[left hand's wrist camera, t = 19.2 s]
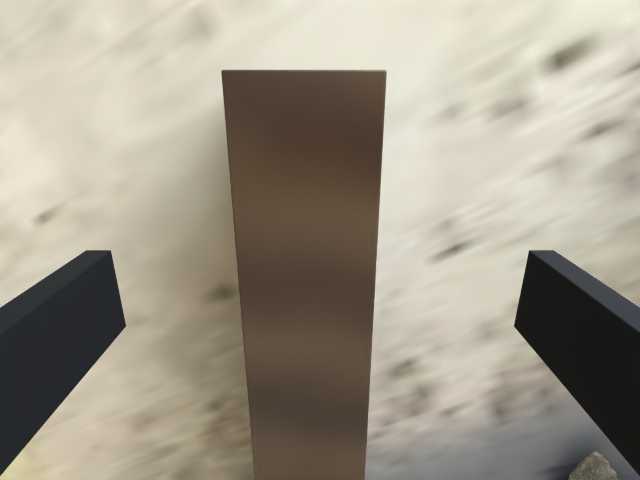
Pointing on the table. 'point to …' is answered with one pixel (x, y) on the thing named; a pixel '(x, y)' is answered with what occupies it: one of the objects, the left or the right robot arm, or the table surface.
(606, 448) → the table surface
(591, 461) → the stone tool
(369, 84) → the beam
